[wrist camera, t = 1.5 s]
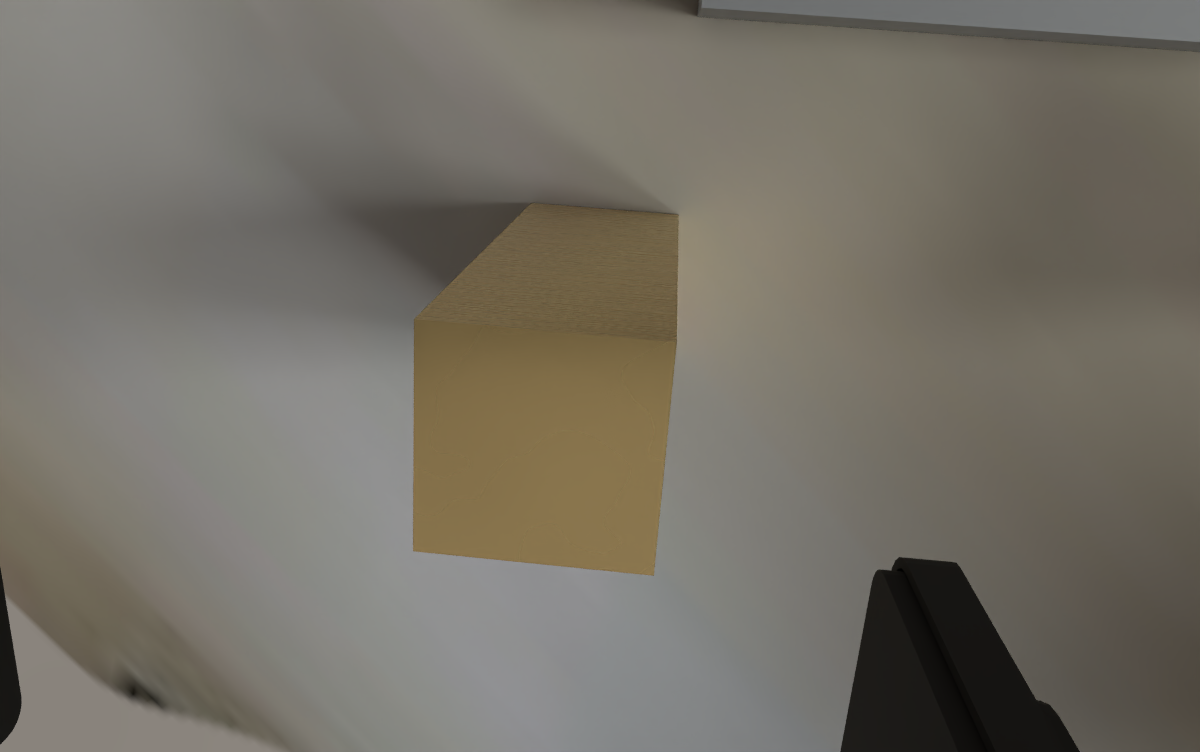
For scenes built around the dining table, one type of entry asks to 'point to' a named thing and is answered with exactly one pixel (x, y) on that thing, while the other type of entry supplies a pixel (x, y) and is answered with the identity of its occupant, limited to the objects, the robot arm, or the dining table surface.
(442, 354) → the wooden square peg
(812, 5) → the well block
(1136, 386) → the dining table surface
